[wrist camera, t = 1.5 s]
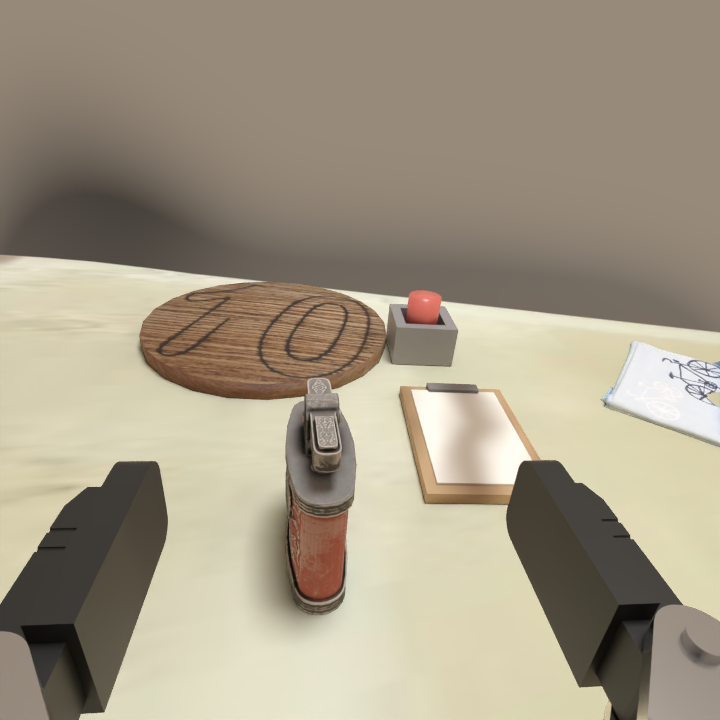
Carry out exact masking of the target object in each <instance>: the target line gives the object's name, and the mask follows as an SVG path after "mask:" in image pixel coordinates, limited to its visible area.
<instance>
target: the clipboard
mask: <svg viewBox="0 0 720 720" xmlns="http://www.w3.org/2000/svg"><path fill="white" fill-rule="evenodd" d="M399 394H400V398H401V403H402V407H403V411H404V415H405V419H406V424H407V428H408V432H409V436H410V440H411V445H412V449H413V453H414V457H415V461H416V466H417V470H418V474H419V478H420V482H421V487H422V491H423V495H424V499H425V503H474V504H509V501H510V497H511V494H512V490H513V486H514V483H515V479H516V476H517V472H518V468H519V466H520V464H521V463H522V462H523V461H529V460H540V458H539V456H538V455H537V453H536V451H535V450H534V448H533V446H532V445H531V443H530V441H529V439H528V438H527V436H526V434H525V433H524V431H523V429H522V428H521V426H520V424H519V423H518V421H517V419H516V417H515V416H514V414H513V412H512V411H511V409H510V407H509V406H508V404H507V402H506V401H505V399H504V397H503V395H502V394H501V392H500V390H492V389H478V388H477V386H476V385H470V384H442V383H427V386H426V387H408V386H400V393H399Z"/></svg>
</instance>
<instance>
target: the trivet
mask: <svg viewBox="0 0 720 720" xmlns="http://www.w3.org/2000/svg"><path fill="white" fill-rule="evenodd" d="M140 341H141V347H142V351H143V353H144V356H145V358H146V360H147V363H148V365H149V366H150V367H152V368H153V369H154V370H155V371H156V372H158V373H159V374H160V375H161V376H162V377H164V378H165V379H167V380H169V381H171V382H174V383H176V384H178V385H181V386H183V387H185V388H188V389H190V390H193V391H197V392H202V393H207V394H212V395H216V396H221V397H226V398H240V399H261V400H271V399H281V398H292V397H302V396H305V394H307V382H308V380H309V379H311V378H326V379H328V380H329V381H330V384H331V389H336V388H339V387H341V386H343V385H346V384H348V383H350V382H352V381H354V380H356V379H358V378H360V377H362V376H364V375H365V374H366V373H367V372H368V371H370V370H371V369H372V368H373V367H374V366H375V365H376V364H378V363H379V361H380V358H381V356H382V354H383V351H384V349H385V342H386V331H385V325H384V322H383V321H382V319H381V318H380V317H379V316H378V314H377V313H376V312H375V311H374V310H373V309H371V308H370V307H368V306H367V305H365V304H364V303H362V302H361V301H358V300H356V299H354V298H351V297H349V296H347V295H344V294H342V293H338V292H335V291H331V290H327V289H323V288H320V287H313V286H307V285H301V284H292V283H276V282H253V283H237V284H229V285H220V286H215V287H210V288H206V289H201V290H197V291H193V292H190V293H187V294H184V295H182V296H179V297H176V298H173V299H171V300H170V301H168V302H166V303H164V304H163V305H161V306H159V307H157V308H156V309H154V310H153V311H152V313H151V314H150V315H149V316H148V317H147V318H146V319H145V320H144V321H143V324H142V328H141V332H140Z"/></svg>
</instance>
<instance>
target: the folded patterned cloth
mask: <svg viewBox="0 0 720 720" xmlns="http://www.w3.org/2000/svg"><path fill="white" fill-rule="evenodd" d="M711 392H720V361H718V362H715V363H712V364H711V363H708V362H704V361H700V360H697V359H693V358H690V357H687V356H683V355H679V354H675V353H672V352H668V351H664V350H660V349H657V348H655V347H653V346H651V345H648V344H645V343H642V342H636V341H633V342H631V347H630V351H629V355H628V357H627V359H626V362H625V364H624V366H623V369H622V370H621V373H620V375H619V378H618V380H617V382H616V385H615V387H614V388H612V387H611V388H610V389H609V391H608V392H607V394H606V395H605V396H604V397H603V398H602V399H600V400H602V401H604V402H605V403H606V405H605V407H606V408H609V409H612V410H615V411H618V412H621V413H624V414H627V415H630V416H633V417H636V418H639V419H642V420H645V421H648V422H651V423H654V424H657V425H660V426H662V427H665V428H668V429H671V430H674V431H677V432H680V433H682V434H685V435H688V436H691V437H693V438H696V439H699V440H702V441H704V442H707V443H710V444H712V445H715V446H718V447H720V408H719V407H717V406H715V404H714V403H712V402H711V401H710V400H709V399H708V396H707V394H711Z"/></svg>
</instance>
